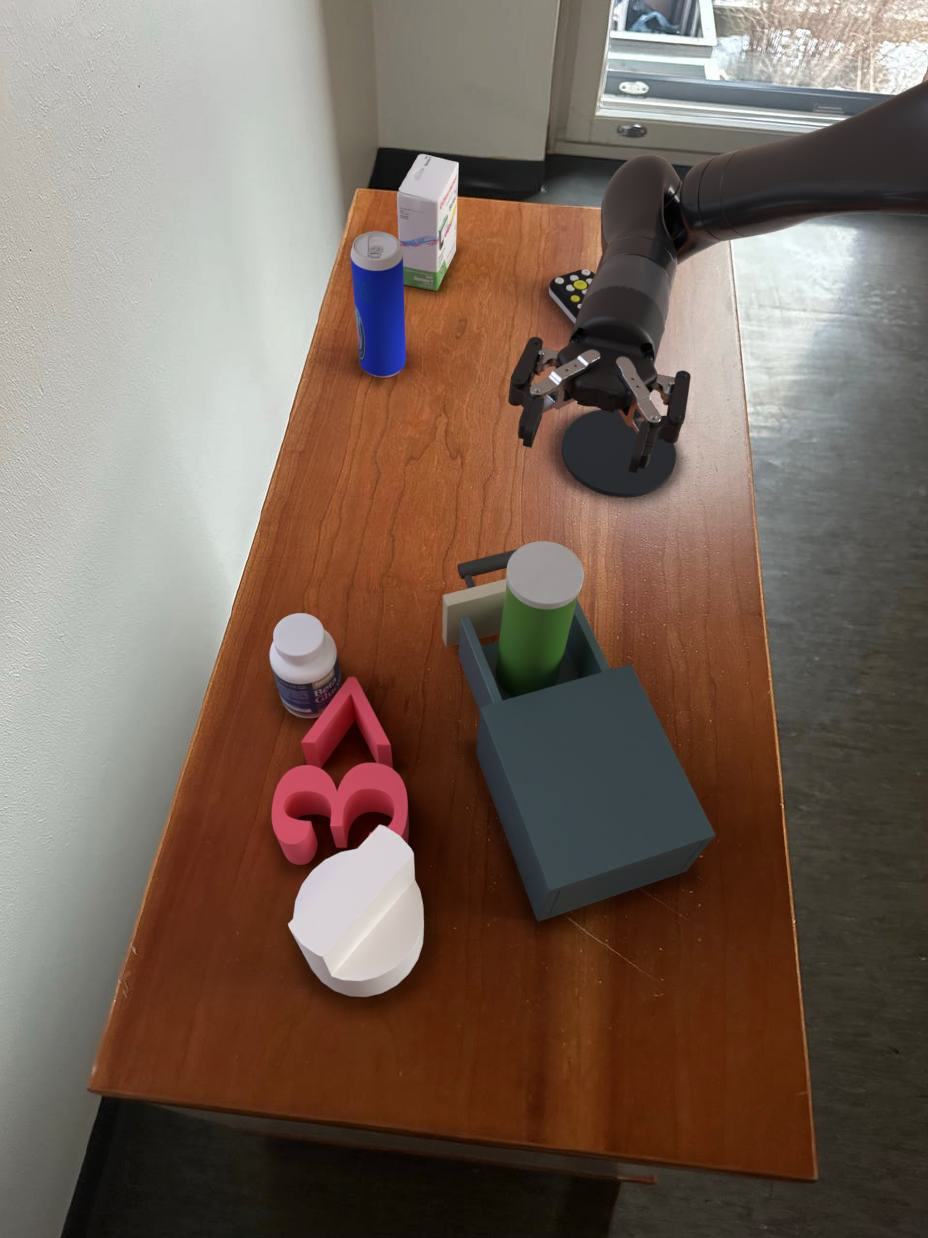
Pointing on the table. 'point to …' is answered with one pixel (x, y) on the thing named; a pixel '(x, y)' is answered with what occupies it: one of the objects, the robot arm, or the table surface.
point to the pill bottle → (305, 665)
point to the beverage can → (379, 303)
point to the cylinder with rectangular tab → (362, 916)
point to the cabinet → (588, 791)
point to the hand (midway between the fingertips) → (580, 452)
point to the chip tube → (537, 616)
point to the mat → (613, 456)
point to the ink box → (428, 220)
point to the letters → (357, 790)
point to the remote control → (571, 291)
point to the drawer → (482, 617)
